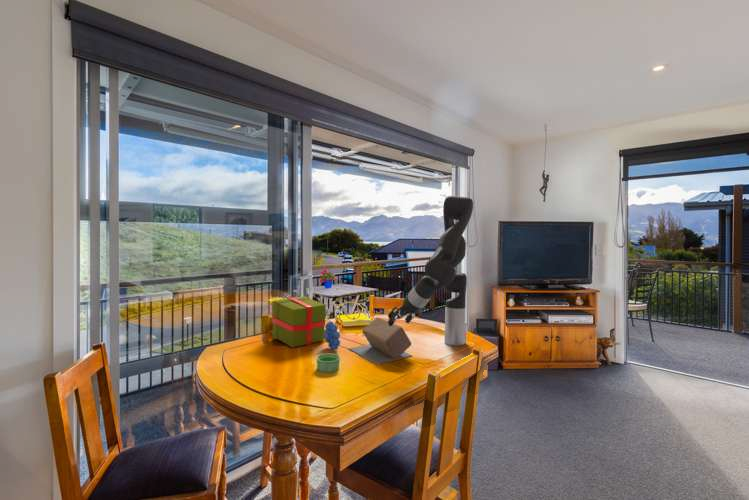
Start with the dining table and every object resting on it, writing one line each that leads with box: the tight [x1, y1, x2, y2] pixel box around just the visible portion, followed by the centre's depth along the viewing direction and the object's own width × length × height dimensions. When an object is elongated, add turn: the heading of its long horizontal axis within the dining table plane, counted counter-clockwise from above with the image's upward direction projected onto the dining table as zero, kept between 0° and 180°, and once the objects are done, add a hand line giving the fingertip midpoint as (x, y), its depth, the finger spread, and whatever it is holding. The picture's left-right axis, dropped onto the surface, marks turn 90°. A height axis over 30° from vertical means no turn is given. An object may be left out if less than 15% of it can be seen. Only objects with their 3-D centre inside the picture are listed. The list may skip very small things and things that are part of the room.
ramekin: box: [315, 353, 341, 373], centre depth 139 cm, size 9×9×4 cm
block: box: [362, 316, 412, 359], centre depth 157 cm, size 10×10×20 cm
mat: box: [348, 343, 413, 365], centre depth 159 cm, size 18×22×1 cm
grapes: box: [324, 321, 341, 351], centre depth 162 cm, size 12×7×12 cm, turn 36°
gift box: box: [271, 295, 327, 348], centre depth 176 cm, size 21×21×25 cm
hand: (398, 322), depth 147 cm, fingers open, 8 cm apart
